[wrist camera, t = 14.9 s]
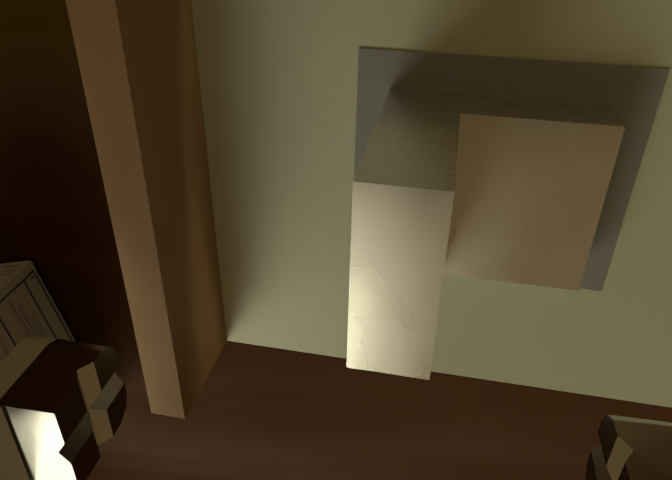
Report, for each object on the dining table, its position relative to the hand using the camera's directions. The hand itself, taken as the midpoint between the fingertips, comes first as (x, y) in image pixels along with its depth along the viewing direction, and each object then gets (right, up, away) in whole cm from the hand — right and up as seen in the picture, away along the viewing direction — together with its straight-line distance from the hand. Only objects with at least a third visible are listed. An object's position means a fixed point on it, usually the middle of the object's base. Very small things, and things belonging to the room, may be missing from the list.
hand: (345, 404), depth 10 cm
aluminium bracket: (+4, +4, +8) cm, 10 cm away
